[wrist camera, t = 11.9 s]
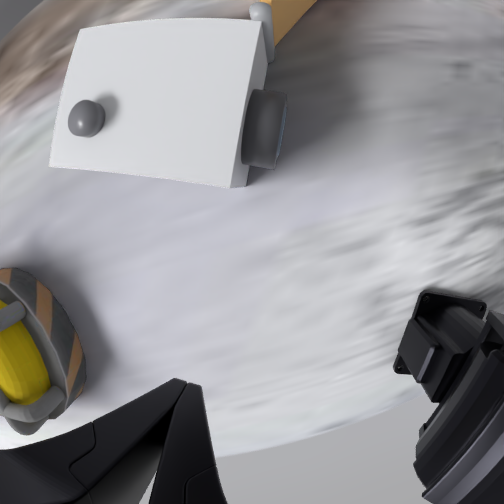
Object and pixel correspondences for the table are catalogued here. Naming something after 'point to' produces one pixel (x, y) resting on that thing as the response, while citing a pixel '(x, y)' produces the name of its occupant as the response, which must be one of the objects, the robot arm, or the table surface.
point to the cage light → (35, 354)
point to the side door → (277, 19)
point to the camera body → (170, 101)
